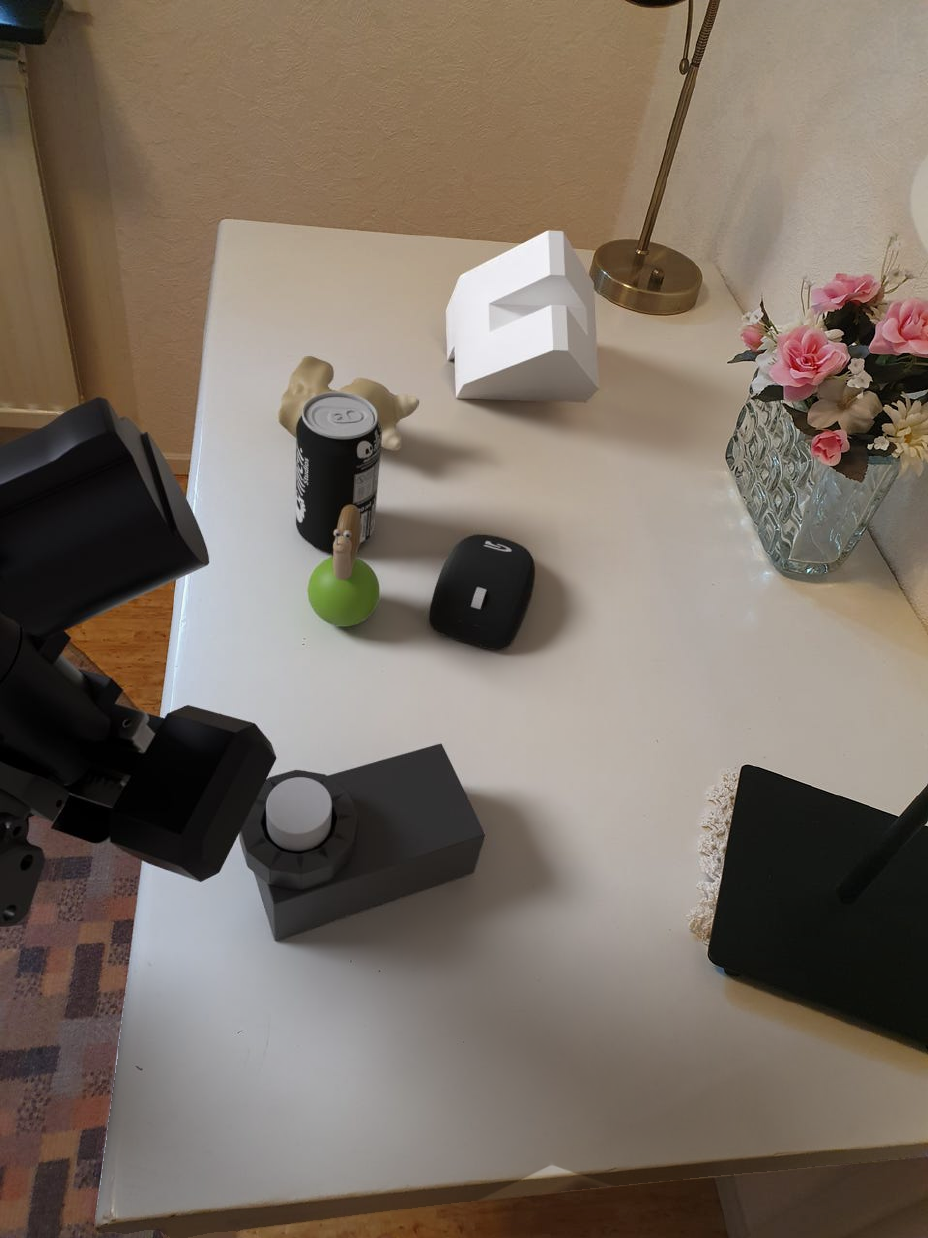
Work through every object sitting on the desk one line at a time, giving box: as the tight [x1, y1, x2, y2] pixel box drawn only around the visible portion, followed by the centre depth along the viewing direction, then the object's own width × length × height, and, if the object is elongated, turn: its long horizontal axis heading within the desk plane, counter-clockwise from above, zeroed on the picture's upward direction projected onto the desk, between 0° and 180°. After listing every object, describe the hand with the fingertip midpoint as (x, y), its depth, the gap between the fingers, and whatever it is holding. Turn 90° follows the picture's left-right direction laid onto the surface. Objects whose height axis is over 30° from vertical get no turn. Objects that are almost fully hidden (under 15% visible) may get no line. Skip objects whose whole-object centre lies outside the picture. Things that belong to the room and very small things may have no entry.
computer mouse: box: [428, 533, 536, 650], centre depth 75 cm, size 8×12×4 cm, turn 164°
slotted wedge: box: [445, 229, 600, 404], centre depth 92 cm, size 14×11×18 cm
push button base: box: [238, 743, 486, 942], centre depth 56 cm, size 14×7×7 cm, turn 114°
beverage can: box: [295, 392, 382, 553], centre depth 75 cm, size 7×7×12 cm
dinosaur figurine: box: [278, 355, 420, 451], centre depth 85 cm, size 8×7×12 cm
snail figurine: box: [307, 505, 381, 627], centre depth 68 cm, size 5×6×12 cm
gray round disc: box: [266, 777, 332, 852], centre depth 52 cm, size 4×4×2 cm
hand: (149, 820), depth 46 cm, fingers closed
